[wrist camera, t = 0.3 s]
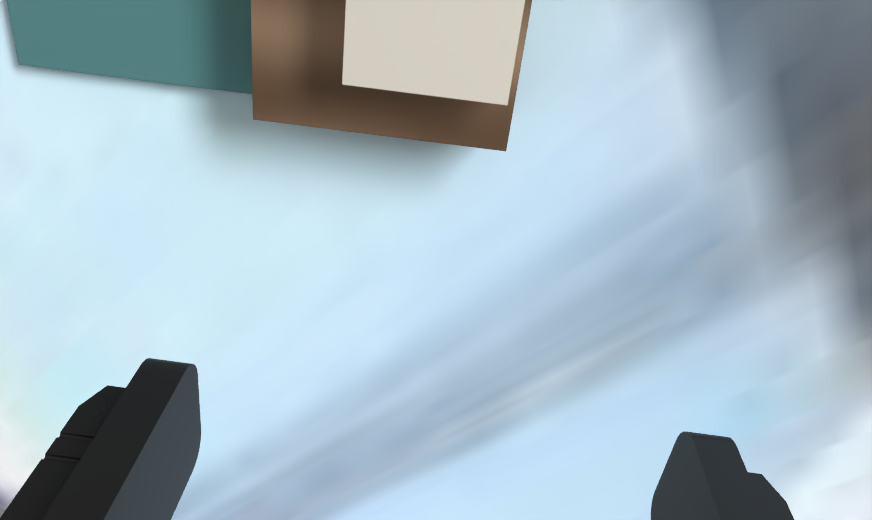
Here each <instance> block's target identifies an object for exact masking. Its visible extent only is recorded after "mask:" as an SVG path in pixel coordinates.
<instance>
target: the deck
mask: <svg viewBox="0 0 872 520" xmlns="http://www.w3.org/2000/svg"><path fill="white" fill-rule="evenodd" d="M531 3H532V0H525V4H524V10H523V16H522V22H521V28H520V34H519V40H518V46H517V52H516V58H515V64H514V70H513V75H512V81H511V87H510V93H509V99H508V105H500V104H492V103H484V102H477V101H469V100H461V99H453V98H445V97H437V96H429V95H421V94H413V93H406V92H398V91H390V90H382V89H374V88H366V87H358V86H350V85H343V84H342V76H343V54H344V32H345V11H346V0H251V36H252V88H253V119H255V120H262V121H270V122H278V123H286V124H294V125H302V126H310V127H318V128H326V129H334V130H342V131H350V132H358V133H365V134H373V135H381V136H389V137H397V138H405V139H413V140H421V141H429V142H437V143H445V144H453V145H461V146H469V147H476V148H484V149H492V150H500V151H506V148H507V142H508V136H509V131H510V125H511V119H512V113H513V107H514V102H515V96H516V90H517V84H518V79H519V73H520V67H521V61H522V55H523V50H524V44H525V38H526V32H527V27H528V21H529V15H530V9H531Z"/></svg>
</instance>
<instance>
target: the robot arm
mask: <svg viewBox="0 0 872 520" xmlns="http://www.w3.org/2000/svg"><path fill="white" fill-rule="evenodd" d="M200 440H201V422H200V405H199V389H198V373H197V368H196V366H195V365H194V364H189V363H181V362H174V361H166V360H159V359H151V358H148V359H146V360H145V361H144V362H143V363H142V364H141V365H140V367H139V369H138V370H137V372H136V373H135V375H134V376H133V378H132V380H131V381H130V383H129V384H128V386H127V387H126V388H122V387H115V386H106V387H105V388H103V389H102V390H101V391H99V392H98V393H96V394H95V395H94V396H92V397H91V398H89V399H88V400H87V401H85V402H84V403H82V404H81V405H80V406H78V408H77V409H76V411H75V412H74V414H73V415H72V416H71V418H70V419H69V421H68V422H67V424H66V425H65V426H64V428H63V429H62V431H61V432H60V437H59V438H58V437H57V438H56V439H55V441H54V442H53V444H52V445H51V446H50V448H49V449H48V451H47V452H46V453H45V458H44V460H43V459H41V461H40V462H39V463H38V465H37V466H36V468H35V469H34V471H33V472H32V473H31V475H30V476H29V478H28V479H27V481H26V482H25V483H24V485H23V486H22V488H21V489H20V491H19V492H18V493H17V495H16V496H15V498H14V499H13V501H12V502H11V503H10V505H9V506H8V508H7V509H6V510H5V512H4V513H3V515H2V516H1V518H0V520H171V518H172V516H173V513H174V511H175V509H176V507H177V505H178V502H179V500H180V498H181V496H182V494H183V491H184V489H185V487H186V485H187V482H188V480H189V478H190V476H191V474H192V471H193V469H194V466H195V463H196V460H197V456H198V452H199V447H200ZM651 520H794V518H793V516H792V514H791V512H790V509H789V507H788V505H787V503H786V501H785V500H784V499H783V498H782V497H781V496H780V494H779V493H778V492H777V491H776V490H775V489H774V488H773V487H772V485H771V484H770V483H769V482H768V481H767V480H766V479H765V478H764V476H763V475H762V474H756V473H749V472H747V470H746V468H745V465H744V463H743V460H742V458H741V456H740V453H739V451H738V448H737V446H736V444H735V442H734V441H733V440H732V439H731V438H729V437H722V436H715V435H707V434H700V433H692V432H682V433H681V434H680V435H679V436H678V438H677V440H676V442H675V444H674V447H673V449H672V452H671V454H670V456H669V459H668V461H667V464H666V466H665V468H664V471H663V473H662V476H661V478H660V480H659V483H658V485H657V488H656V490H655V493H654V496H653V500H652V507H651Z"/></svg>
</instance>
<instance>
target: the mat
mask: <svg viewBox="0 0 872 520" xmlns="http://www.w3.org/2000/svg"><path fill="white" fill-rule="evenodd" d="M7 4H8V9H9V15H10V20H11V25H12V31H13V36H14V42H15V47H16V52H17V58H18V63H19V65H27V66H35V67H43V68H50V69H58V70H66V71H74V72H82V73H90V74H98V75H106V76H114V77H122V78H130V79H137V80H145V81H153V82H161V83H169V84H177V85H185V86H193V87H201V88H209V89H216V90H224V91H232V92H240V93H248V94H253V88H252V36H251V0H7Z"/></svg>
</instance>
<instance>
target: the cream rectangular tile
mask: <svg viewBox="0 0 872 520" xmlns="http://www.w3.org/2000/svg"><path fill="white" fill-rule="evenodd" d="M524 4H525V0H346V11H345V32H344V54H343V76H342V84H343V85H350V86H358V87H366V88H374V89H382V90H390V91H398V92H406V93H413V94H421V95H429V96H437V97H445V98H453V99H461V100H469V101H477V102H484V103H492V104H500V105H508V99H509V93H510V87H511V81H512V75H513V70H514V64H515V58H516V52H517V46H518V40H519V34H520V28H521V22H522V16H523V10H524Z"/></svg>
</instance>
